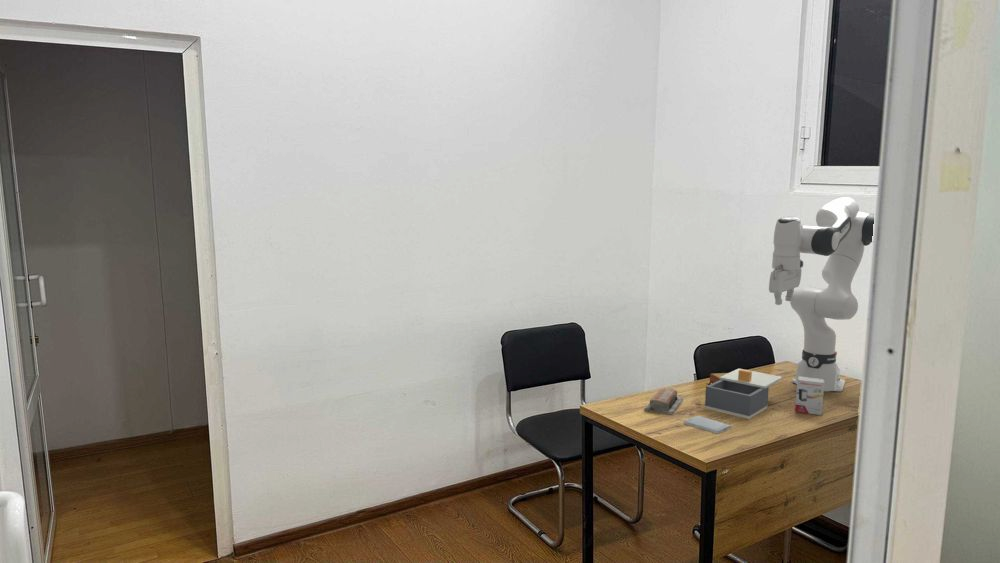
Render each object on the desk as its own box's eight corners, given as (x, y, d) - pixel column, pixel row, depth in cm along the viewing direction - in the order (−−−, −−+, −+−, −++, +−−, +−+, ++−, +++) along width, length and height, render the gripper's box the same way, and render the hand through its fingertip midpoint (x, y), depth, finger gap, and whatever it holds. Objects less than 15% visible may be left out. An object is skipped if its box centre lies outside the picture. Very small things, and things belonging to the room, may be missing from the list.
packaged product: (673, 403, 232) (644, 398, 236) (672, 416, 232) (644, 412, 237) (684, 389, 248) (656, 385, 252) (683, 401, 248) (656, 397, 253)
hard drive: (684, 420, 224) (718, 430, 215) (697, 415, 229) (731, 424, 220) (684, 425, 224) (718, 435, 215) (697, 419, 230) (731, 429, 221)
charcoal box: (724, 398, 251) (725, 377, 250) (767, 408, 241) (768, 386, 240) (704, 408, 240) (706, 386, 239) (749, 419, 229) (750, 396, 228)
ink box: (794, 412, 237) (797, 379, 235) (794, 408, 241) (797, 375, 240) (822, 415, 233) (824, 382, 232) (821, 411, 238) (824, 378, 236)
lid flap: (738, 370, 260) (739, 359, 259) (782, 379, 248) (783, 367, 248) (719, 379, 247) (720, 367, 247) (765, 388, 236) (765, 376, 236)
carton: (727, 382, 273) (728, 372, 272) (750, 394, 257) (751, 383, 257) (709, 383, 271) (709, 373, 270) (731, 395, 256) (731, 384, 255)
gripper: (783, 267, 227) (781, 308, 229) (805, 261, 242) (802, 299, 244) (765, 265, 231) (763, 305, 233) (787, 260, 246) (785, 297, 248)
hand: (783, 302), depth 239 cm, fingers open, 8 cm apart
